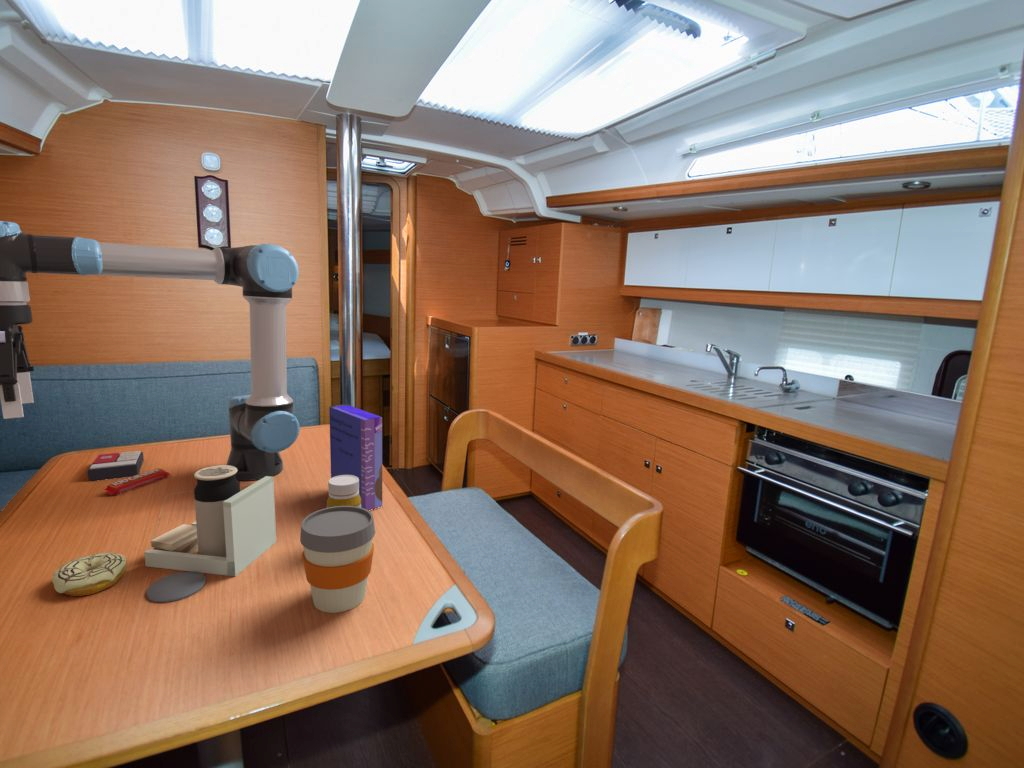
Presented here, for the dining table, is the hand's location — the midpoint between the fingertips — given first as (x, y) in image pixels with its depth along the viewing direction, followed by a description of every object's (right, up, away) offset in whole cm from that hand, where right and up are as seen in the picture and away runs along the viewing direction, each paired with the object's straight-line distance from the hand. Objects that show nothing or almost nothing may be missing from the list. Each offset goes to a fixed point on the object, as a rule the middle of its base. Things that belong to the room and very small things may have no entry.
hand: (19, 410), depth 102 cm
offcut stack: (+31, -29, +3) cm, 43 cm away
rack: (+38, -30, +2) cm, 48 cm away
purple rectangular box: (+58, -25, +32) cm, 71 cm away
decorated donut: (+22, -31, -9) cm, 39 cm away
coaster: (+38, -32, -10) cm, 51 cm away
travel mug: (+40, -30, +2) cm, 50 cm away
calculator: (-15, -20, +45) cm, 51 cm away
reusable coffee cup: (+68, -34, -10) cm, 77 cm away
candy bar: (-1, -23, +34) cm, 41 cm away
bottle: (+63, -30, +8) cm, 70 cm away
